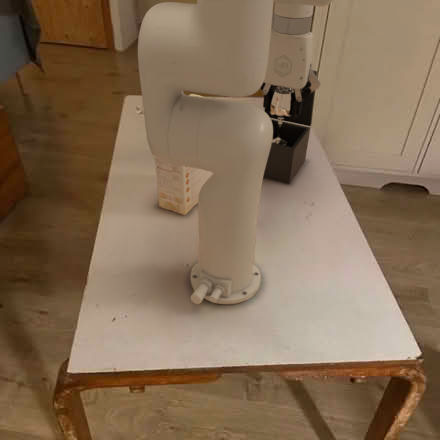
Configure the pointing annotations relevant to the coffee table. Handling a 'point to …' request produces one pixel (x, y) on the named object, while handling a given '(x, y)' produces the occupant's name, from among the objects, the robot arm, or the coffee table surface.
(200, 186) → the coffeecake box
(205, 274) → the robot arm
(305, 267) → the coffee table surface
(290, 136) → the trash bin
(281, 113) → the wineglass
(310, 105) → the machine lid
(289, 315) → the coffee table surface
